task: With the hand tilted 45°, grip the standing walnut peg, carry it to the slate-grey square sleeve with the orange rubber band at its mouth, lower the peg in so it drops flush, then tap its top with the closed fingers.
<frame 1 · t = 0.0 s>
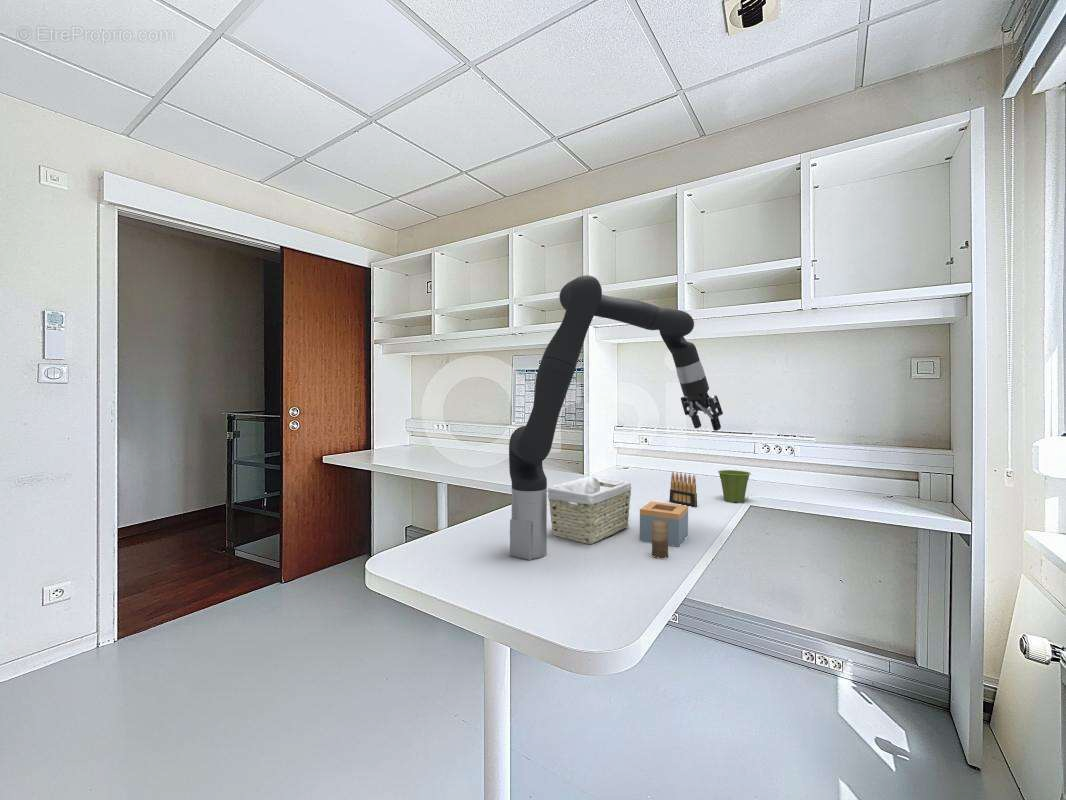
hand: (707, 428, 142), 31 cm above the table, tool tilted 20°, fingers open, 8 cm apart
storage basket: (590, 532, 143), on the table
peg: (660, 555, 122), on the table
plant pot: (733, 501, 184), on the table
sleeve: (664, 538, 137), on the table
ammunition clip: (683, 505, 178), on the table
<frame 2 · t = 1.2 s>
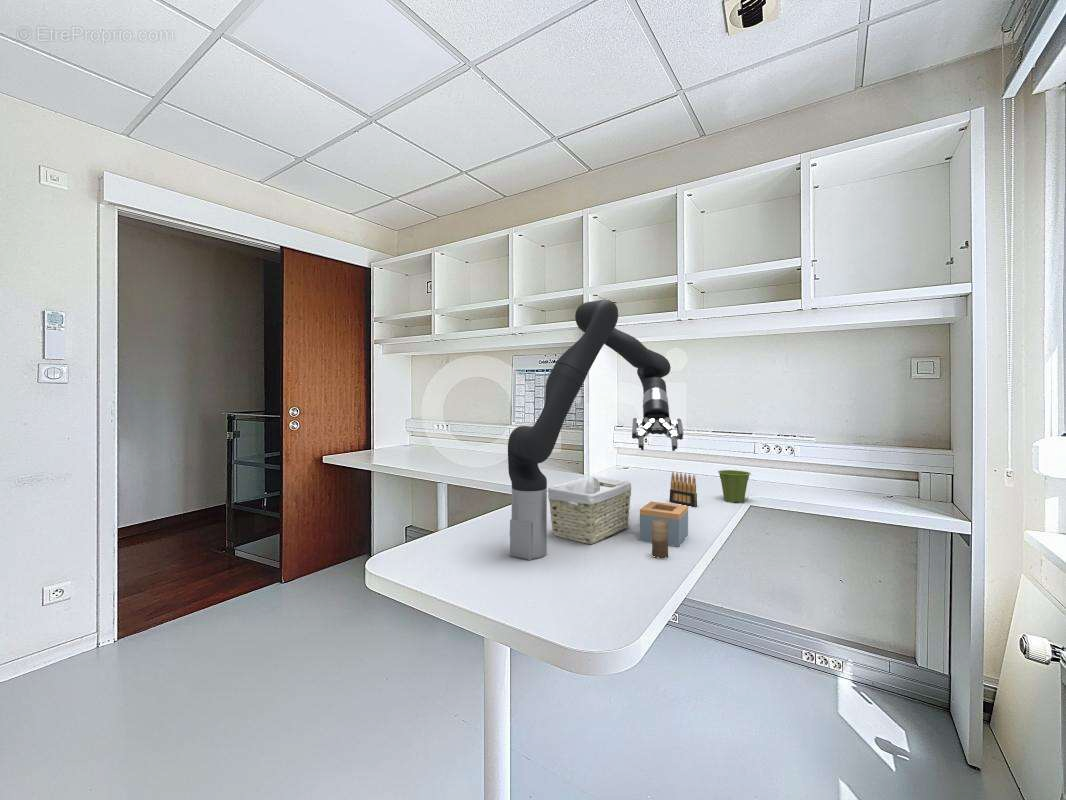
hand: (658, 448, 132), 27 cm above the table, tool tilted 45°, fingers open, 8 cm apart
nothing on the table moved.
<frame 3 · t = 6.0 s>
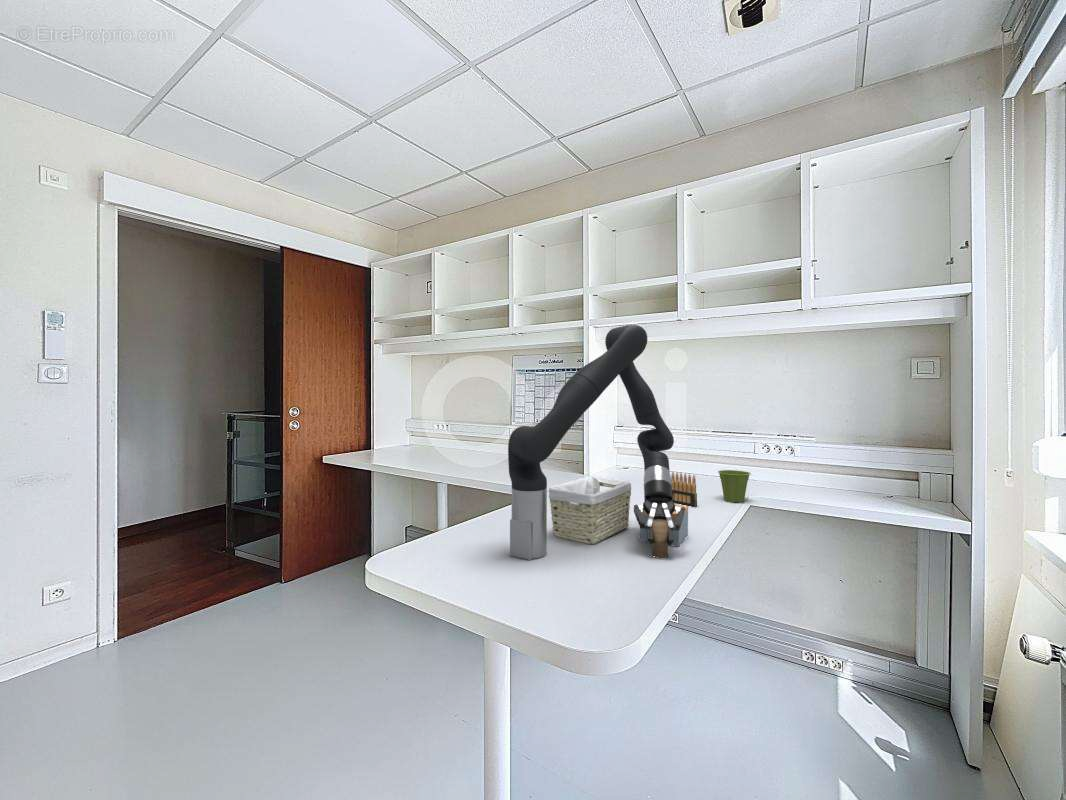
hand: (660, 542, 120), 4 cm above the table, tool tilted 45°, fingers closed on peg, 4 cm apart
peg: (660, 555, 122), on the table, touching gripper
everything else where it was.
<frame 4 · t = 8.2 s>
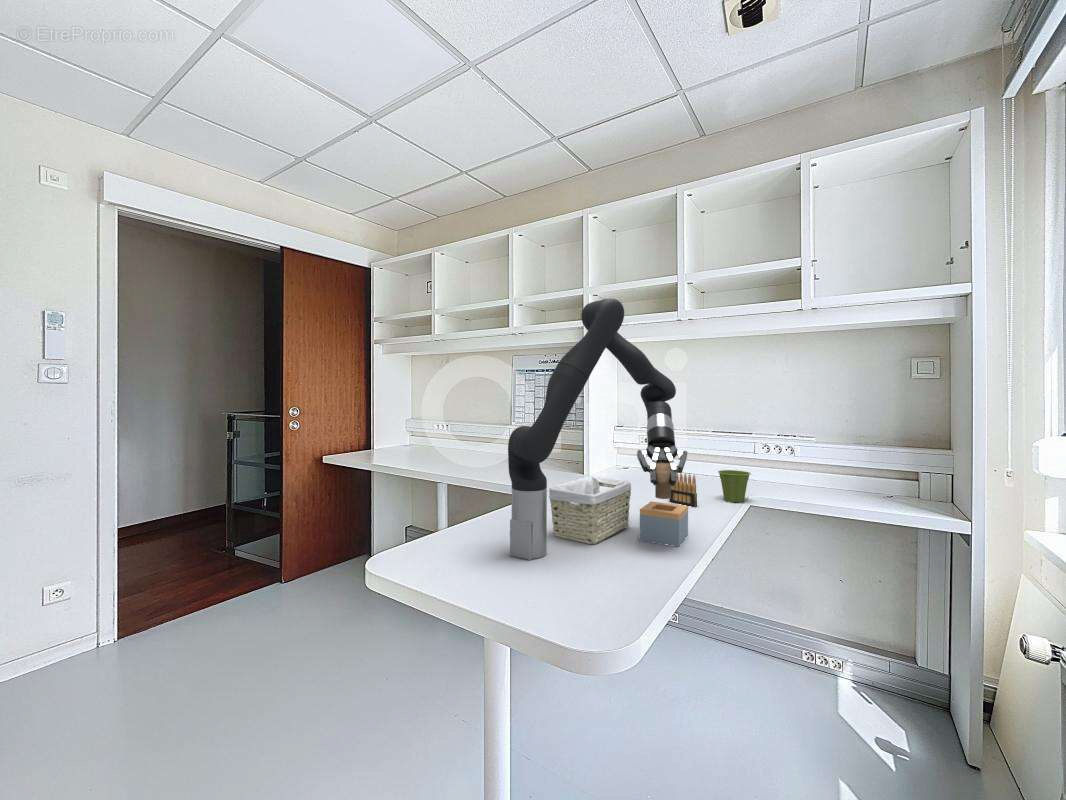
hand: (663, 483, 124), 18 cm above the table, tool tilted 45°, fingers closed on peg, 4 cm apart
peg: (663, 497, 126), point 14 cm above the table, touching gripper
everything else where it was.
when the fingers open (11 cm above the table, at t = 10.7 s): peg drops 7 cm, resting in sleeve.
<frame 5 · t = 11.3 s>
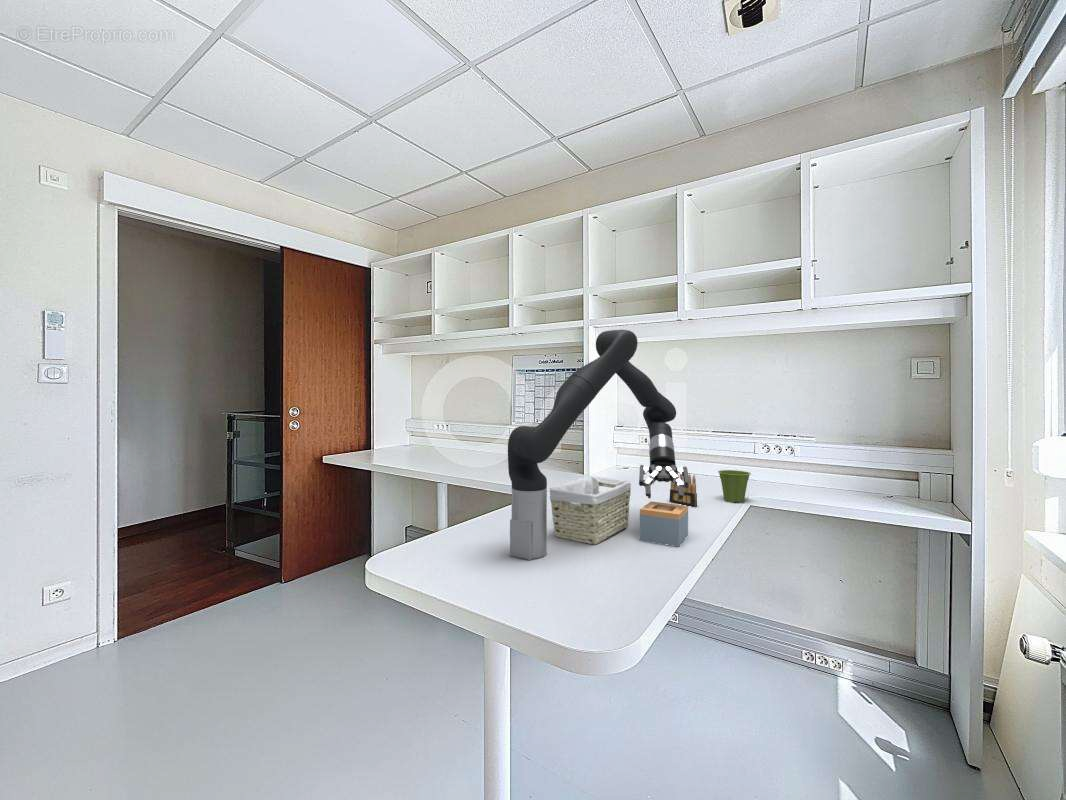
hand: (664, 497, 135), 12 cm above the table, tool tilted 45°, fingers open, 8 cm apart
peg: (663, 538, 137), resting in sleeve
everything else where it was.
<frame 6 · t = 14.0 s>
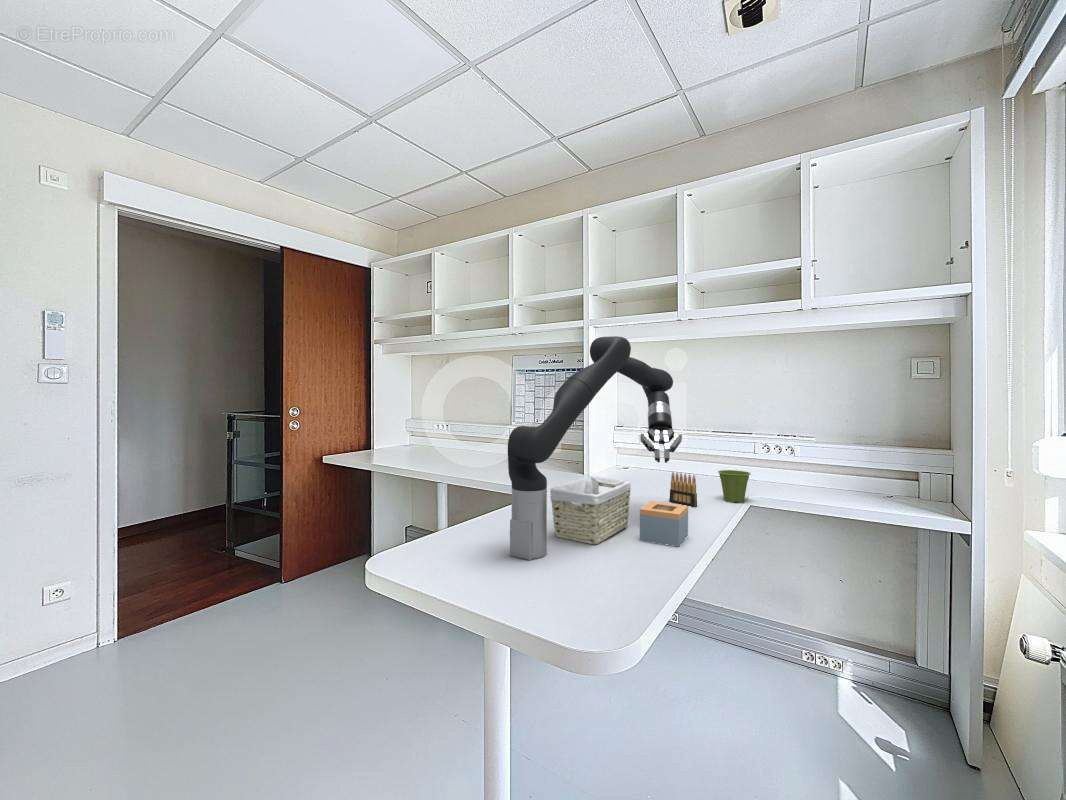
hand: (662, 460, 144), 21 cm above the table, tool tilted 45°, fingers closed
nothing on the table moved.
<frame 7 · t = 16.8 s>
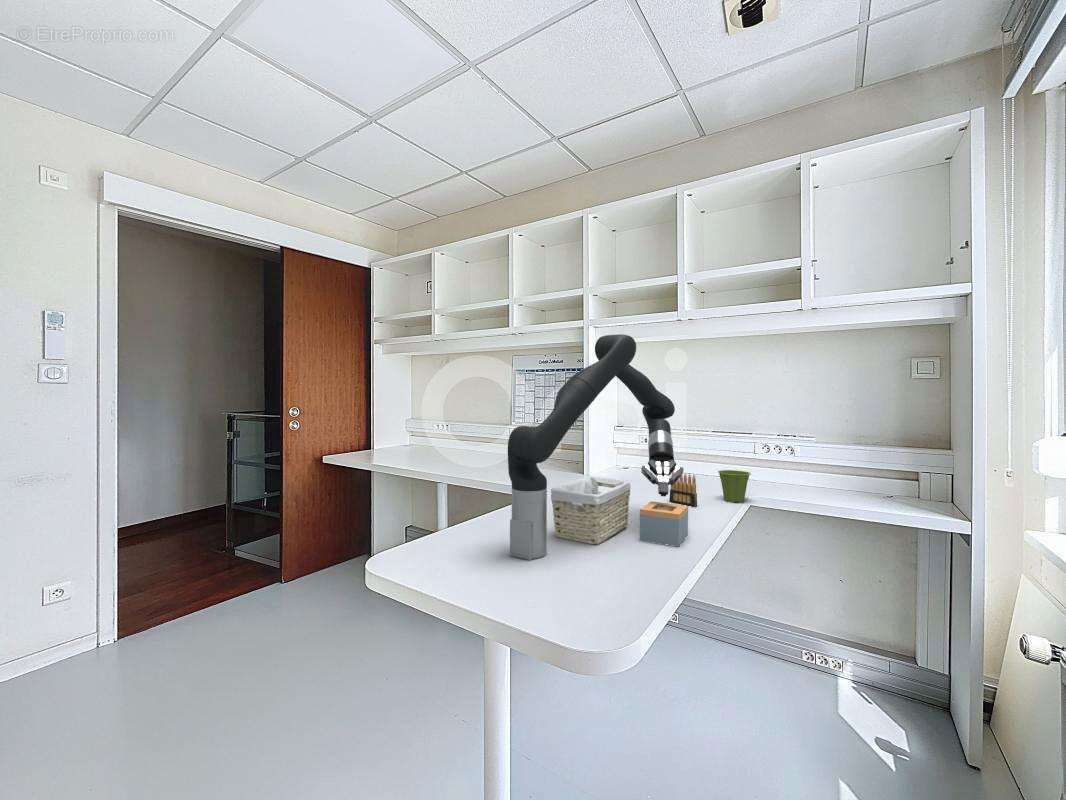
hand: (663, 494, 138), 12 cm above the table, tool tilted 45°, fingers closed
nothing on the table moved.
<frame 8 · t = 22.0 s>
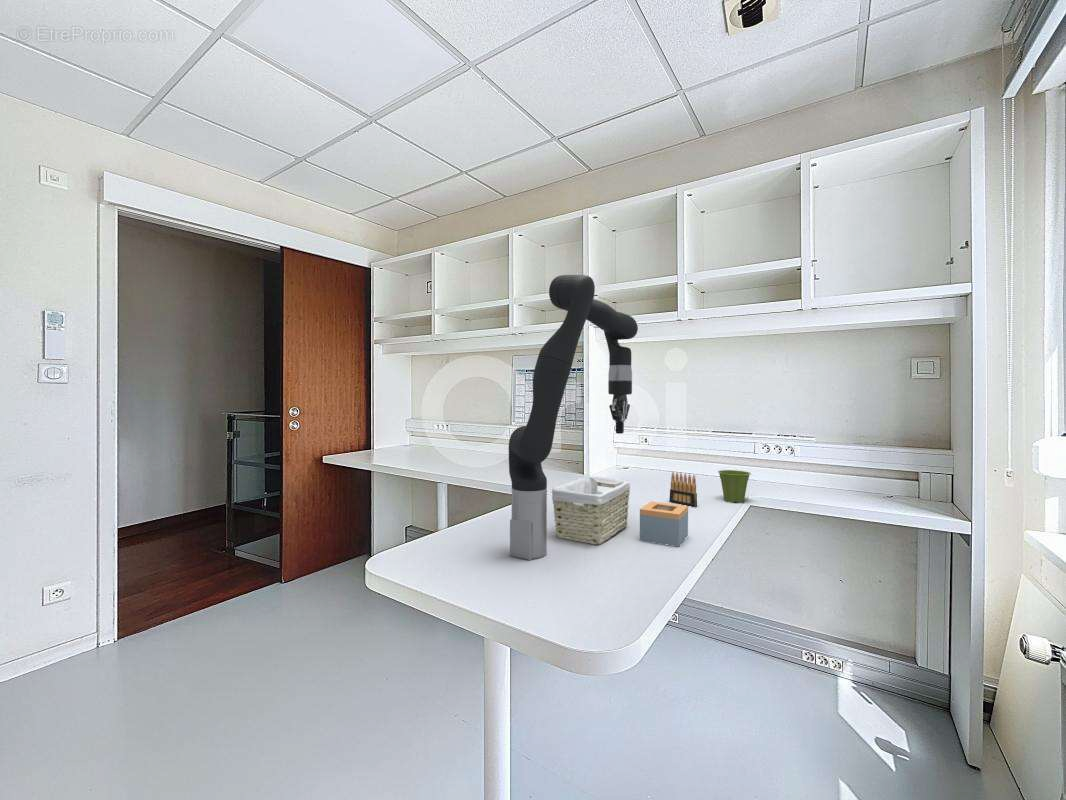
hand: (619, 433, 152), 29 cm above the table, tool pointing down, fingers closed
at the end: peg 0.2 cm off-centre on the sleeve, point 0.0 cm above the sleeve's base; peg tilted 0°; the gripper is holding nothing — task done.
